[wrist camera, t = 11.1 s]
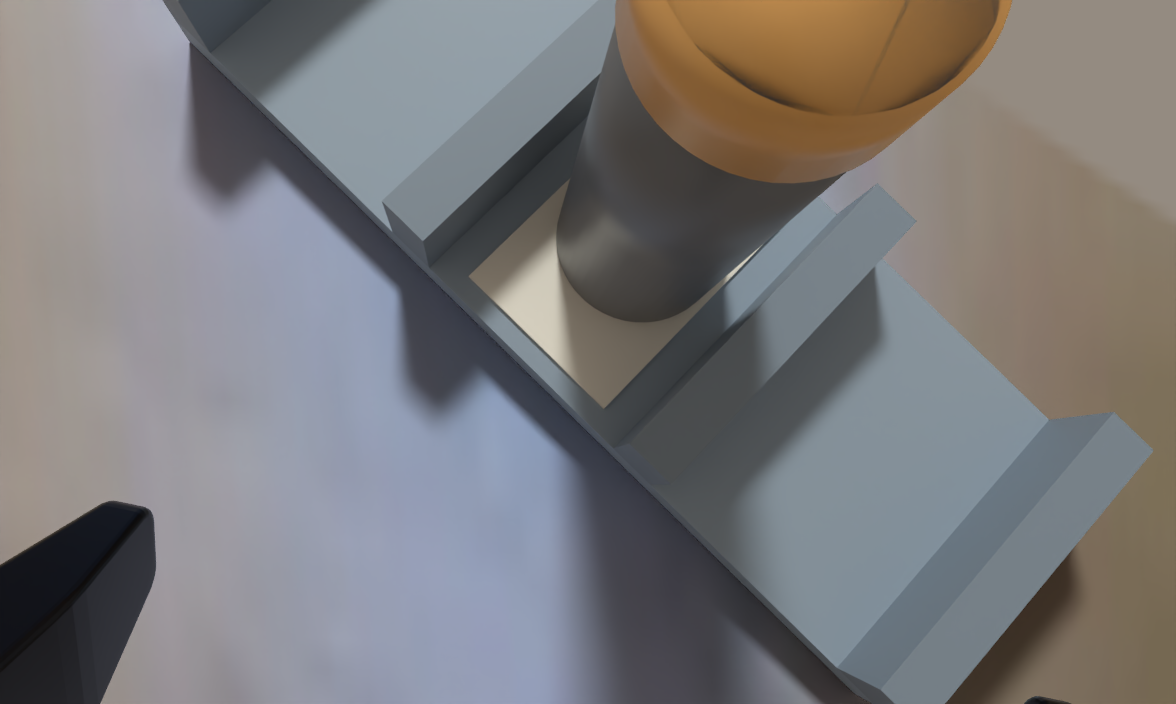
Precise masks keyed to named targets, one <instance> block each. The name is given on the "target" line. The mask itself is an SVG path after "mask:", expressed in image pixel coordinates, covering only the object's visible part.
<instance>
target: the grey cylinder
mask: <svg viewBox="0 0 1176 704" xmlns="http://www.w3.org/2000/svg"><path fill="white" fill-rule="evenodd" d="M1011 2H1012V0H616V4H615V26H614V29H613V33H612V36H611V39H610V43H609V46H608V50H607V53H606V57H605V60H604V64H603V67H602V70H601V74H600V77H599V81H598V84H597V88H596V91H595V95H594V98H593V102H592V105H591V108H590V112H589V115H588V119H587V122H586V126H585V129H584V133H583V136H582V139H581V143H580V146H579V150H578V153H577V157H576V160H575V164H574V167H573V170H572V174H571V177H570V181H569V184H568V188H567V191H566V195H565V198H564V201H563V205H562V208H561V212H560V215H559V219H558V224H557V231H556V245H557V252H558V257H559V260H560V264H561V267H562V269H563V271H564V274H565V276H566V277H567V279H568V281H569V283H570V284H571V286H572V287H573V288H574V290H575V291H576V292H577V293H578V294H579V295H580V296H581V297H582V298H583V299H584V300H585V301H586V302H587V303H588V304H590V305H591V306H592V307H594V308H595V309H597V310H599V311H600V312H602V313H604V314H606V315H609V316H611V317H613V318H617V319H620V320H624V321H630V322H654V321H660V320H664V319H668V318H670V317H673V316H675V315H678V314H679V313H681V312H683V311H685V310H686V309H688V308H689V307H691V306H692V305H693V304H694V303H696V302H697V301H698V300H699V299H700V298H702V297H703V296H704V295H705V294H706V293H707V292H708V291H710V290H711V289H712V288H713V287H714V286H715V285H716V284H718V283H719V282H720V281H721V280H722V279H723V278H725V277H726V276H727V275H728V274H729V273H730V272H731V271H733V270H734V269H735V268H736V267H737V266H738V265H740V264H741V263H742V262H743V261H744V260H745V259H746V258H748V257H749V256H750V255H751V254H752V253H753V252H755V251H756V250H757V249H758V248H759V247H760V246H761V245H763V244H764V243H765V242H766V241H767V240H768V239H770V238H771V237H772V236H773V235H774V234H775V233H776V232H778V231H779V230H780V229H781V228H782V227H783V226H785V225H786V224H787V223H788V222H789V221H790V220H791V219H793V218H794V217H795V216H796V215H797V214H798V213H800V212H801V211H802V210H803V209H804V208H805V207H806V206H808V205H809V204H810V203H811V202H812V201H813V200H814V199H816V198H817V197H818V196H819V195H820V194H821V193H823V192H824V191H825V190H826V189H827V188H828V187H829V186H831V185H832V184H833V183H834V182H835V181H836V180H838V179H839V178H840V177H841V176H842V175H843V174H844V173H846V172H847V171H850V170H852V169H854V168H856V167H858V166H860V165H861V164H863V163H865V162H867V161H869V160H870V159H872V158H873V157H875V156H876V155H877V154H878V153H880V152H881V151H882V150H884V149H885V148H886V147H888V146H889V145H890V144H891V143H892V142H894V141H895V140H896V139H897V138H898V137H899V136H901V135H902V134H903V133H904V132H905V131H907V130H908V129H909V128H910V127H911V126H913V125H914V124H915V123H916V122H917V121H919V120H920V119H921V118H922V117H923V116H924V115H926V114H927V113H928V112H929V111H930V110H932V109H933V108H934V107H935V106H936V105H938V104H939V103H940V102H941V101H942V100H943V99H945V98H946V97H947V96H948V95H949V94H951V93H952V92H953V91H954V90H955V89H957V88H958V87H959V86H960V85H961V84H962V83H963V82H964V81H965V80H966V79H967V78H968V77H969V76H970V75H971V74H972V73H973V72H974V71H975V70H976V69H977V68H978V67H979V66H980V65H981V63H982V62H983V60H984V59H985V58H986V56H987V55H988V53H989V52H990V51H991V50H992V48H993V46H994V44H995V42H996V40H997V39H998V37H999V35H1000V33H1001V31H1002V29H1003V27H1004V24H1005V21H1006V18H1007V16H1008V13H1009V10H1010V7H1011Z"/></svg>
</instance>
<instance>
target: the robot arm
mask: <svg viewBox="0 0 1176 704" xmlns="http://www.w3.org/2000/svg"><path fill="white" fill-rule="evenodd" d="M155 571H156V552H155V532H154V518H153V514H152V512H151V511H150V510H149V509H148V508H146V507H142V506H137V505H133V504H128V503H123V502H118V501H108V502H105V503H102V504H101V505H99V506H97V507H95V508H94V509H92V510H90V511H89V512H87V513H85V514H84V515H82V516H80V517H79V518H77V519H76V520H74V521H72V522H71V523H69V524H67V525H66V526H64V527H62V528H61V529H59V530H57V531H56V532H54V533H52V534H51V535H49V536H47V537H46V538H44V539H42V540H41V541H39V542H37V543H36V544H34V545H33V546H31V547H29V548H28V549H26V550H24V551H23V552H21V553H19V554H18V555H16V556H14V557H13V558H11V559H9V560H8V561H6V562H4V563H3V564H1V565H0V704H100V703H101V701H102V698H103V696H104V694H105V692H106V689H107V687H108V685H109V682H110V680H111V678H112V676H113V673H114V671H115V669H116V667H117V664H118V662H119V660H120V658H121V655H122V653H123V651H124V648H125V646H126V644H127V642H128V639H129V637H130V635H131V633H132V630H133V628H134V626H135V623H136V621H137V619H138V617H139V614H140V612H141V610H142V608H143V605H144V603H145V601H146V599H147V596H148V594H149V592H150V589H151V587H152V584H153V580H154V576H155ZM1024 704H1071V703H1068V702H1064V701H1060V700H1055V699H1050V698H1045V697H1041V696H1035V697H1032V698H1030V699H1028V700H1027V701H1026V702H1025V703H1024Z"/></svg>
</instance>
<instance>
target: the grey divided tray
mask: <svg viewBox="0 0 1176 704" xmlns="http://www.w3.org/2000/svg"><path fill="white" fill-rule="evenodd" d="M163 2H164V3H165V5H166V6H167V8H168V9H169V11H170V12H171V14H172V15H173V17H174V18H175V20H176V22H177V23H178V25H179V26H180V28H181V29H182V31H183V32H184V34H185V35H186V37H187V38H188V40H189V41H190V42H191V43H192V44H193V45H194V46H195V47H196V48H197V49H198V50H199V51H200V52H201V53H202V54H203V55H204V56H205V57H206V58H207V59H208V60H209V61H210V62H211V63H212V64H213V65H214V66H215V67H216V68H217V69H218V70H219V71H220V72H221V73H222V74H223V75H224V76H225V77H226V78H228V79H229V80H230V81H231V82H232V83H233V84H234V85H235V86H236V87H237V88H238V89H239V90H240V91H241V92H242V93H243V94H244V95H245V96H246V97H247V98H248V99H249V100H250V101H251V102H252V103H253V104H254V105H255V106H256V107H257V108H258V109H259V110H260V111H261V112H262V113H263V114H264V115H265V116H266V117H267V118H268V119H269V120H270V121H271V122H272V123H273V124H274V125H275V126H276V127H277V128H278V129H280V130H281V131H282V132H283V133H284V134H285V135H286V136H287V137H288V138H289V139H290V140H291V141H292V142H293V143H294V144H295V145H296V146H297V147H298V148H299V149H300V150H301V151H302V152H303V153H304V154H305V155H306V156H307V157H308V158H309V159H310V160H311V161H312V162H313V163H314V164H315V165H316V166H317V167H318V168H319V169H320V170H321V171H322V172H323V173H324V174H325V175H326V176H327V177H328V178H329V179H330V180H331V181H333V182H334V183H335V184H336V185H337V186H338V187H339V188H340V189H341V190H342V191H343V192H344V193H345V194H346V195H347V196H348V197H349V198H350V199H351V200H352V201H353V202H354V203H355V204H356V205H357V206H358V207H359V208H360V209H361V210H362V211H363V212H364V213H365V214H366V215H367V216H368V217H369V218H370V219H371V220H372V221H373V222H374V223H375V224H376V225H377V226H378V227H379V228H380V229H381V230H382V231H383V232H385V233H386V234H387V235H388V236H389V237H390V238H391V239H392V240H393V241H394V242H395V243H396V244H397V245H398V246H399V247H400V248H401V249H402V250H403V251H404V252H405V253H406V254H407V255H408V256H409V257H410V258H411V259H412V260H413V261H414V262H415V263H416V264H417V265H418V266H419V267H420V268H421V269H422V270H423V271H424V272H425V273H426V274H427V275H428V276H429V277H430V278H431V279H432V280H433V281H434V282H435V283H436V284H438V285H439V286H440V287H441V288H442V289H443V290H444V291H445V292H446V293H447V294H448V295H449V296H450V297H451V298H452V299H453V300H454V301H455V302H456V303H457V304H458V305H459V306H460V307H461V308H462V309H463V310H464V311H465V312H466V313H467V314H468V315H469V316H470V317H471V318H472V319H473V320H474V321H475V322H476V323H477V324H478V325H479V326H480V327H481V328H482V329H483V330H484V331H485V332H486V333H487V334H488V335H490V336H491V337H492V338H493V339H494V340H495V341H496V342H497V343H498V344H499V345H500V346H501V347H502V348H503V349H504V350H505V351H506V352H507V353H508V354H509V355H510V356H511V357H512V358H513V359H514V360H515V361H516V362H517V363H518V364H519V365H520V366H521V367H522V368H523V369H524V370H525V371H526V372H527V373H528V374H529V375H530V376H531V377H532V378H533V379H534V380H535V381H536V382H537V383H538V384H539V385H540V386H541V387H543V388H544V389H545V390H546V391H547V392H548V393H549V394H550V395H551V396H552V397H553V398H554V399H555V400H556V401H557V402H558V403H559V404H560V405H561V406H562V407H563V408H564V409H565V410H566V411H567V412H568V413H569V414H570V415H571V416H572V417H573V418H574V419H575V420H576V421H577V422H578V423H579V424H580V425H581V426H582V427H583V428H584V429H585V430H586V431H587V432H588V433H589V434H590V435H591V436H592V437H593V438H595V439H596V440H597V441H598V442H599V443H600V444H601V445H602V446H603V447H604V448H605V449H606V450H607V451H608V452H609V453H610V454H611V455H612V456H613V457H614V458H615V459H616V460H617V461H618V462H619V463H620V464H621V465H622V466H623V467H624V468H625V469H626V470H627V471H628V472H629V473H630V474H631V475H632V476H633V477H634V478H635V479H636V480H637V481H638V482H639V483H640V484H641V485H642V486H643V487H644V488H645V489H646V490H648V491H649V492H650V493H651V494H652V495H653V496H654V497H655V498H656V499H657V500H658V501H659V502H660V503H661V504H662V505H663V506H664V507H665V508H666V509H667V510H668V511H669V512H670V513H671V514H672V515H673V516H674V517H675V518H676V519H677V520H678V521H679V522H680V523H681V524H682V525H683V526H684V527H685V528H686V529H687V530H688V531H689V532H690V533H691V534H692V535H693V536H694V537H695V538H696V539H697V540H698V541H700V542H701V543H702V544H703V545H704V546H705V547H706V548H707V549H708V550H709V551H710V552H711V553H712V554H713V555H714V556H715V557H716V558H717V559H718V560H719V561H720V562H721V563H722V564H723V565H724V566H725V567H726V568H727V569H728V570H729V571H730V572H731V573H732V574H733V575H734V576H735V577H736V578H737V579H738V580H739V581H740V582H741V583H742V584H743V585H744V586H745V587H746V588H747V589H748V590H749V591H750V592H752V593H753V594H754V595H755V596H756V597H757V598H758V599H759V600H760V601H761V602H762V603H763V604H764V605H765V606H766V607H767V608H768V609H769V610H770V611H771V612H772V613H773V614H774V615H775V616H776V617H777V618H778V619H779V620H780V621H781V622H782V623H783V624H784V625H785V626H786V627H787V628H788V629H789V630H790V631H791V632H792V633H793V634H794V635H795V636H796V637H797V638H798V639H799V640H800V641H801V642H802V643H803V644H805V645H806V646H807V647H808V648H809V649H810V650H811V651H812V652H813V653H814V654H815V655H816V656H817V657H818V658H819V659H820V660H821V661H822V662H823V663H824V664H825V665H826V666H827V667H828V668H829V669H830V670H831V671H832V672H833V673H834V674H835V675H836V676H837V677H838V678H839V679H840V680H841V681H842V682H843V683H844V684H845V685H846V686H847V687H848V688H849V689H850V690H851V691H852V692H853V693H854V694H856V695H858V696H860V697H861V698H863V699H865V700H867V701H869V702H871V703H872V704H945V703H946V702H947V701H948V700H949V698H950V697H951V696H952V695H953V694H954V692H955V691H956V690H957V689H958V687H959V686H960V685H961V684H962V683H963V681H964V680H965V679H966V678H967V677H968V675H969V674H970V673H971V672H972V670H973V669H974V668H975V667H976V666H977V664H978V663H979V662H980V661H981V660H982V658H983V657H984V656H985V655H986V653H987V652H988V651H989V650H990V649H991V647H992V646H993V645H994V644H995V643H996V641H997V640H998V639H999V638H1000V636H1001V635H1002V634H1003V633H1004V632H1005V630H1006V629H1007V628H1008V627H1009V626H1010V624H1011V623H1012V622H1013V621H1014V619H1015V618H1016V617H1017V616H1018V615H1019V613H1020V612H1021V611H1022V610H1023V608H1024V607H1025V606H1026V605H1027V604H1028V602H1029V601H1030V600H1031V599H1032V598H1033V596H1034V595H1035V594H1036V593H1037V591H1038V590H1039V589H1040V588H1041V587H1042V585H1043V584H1044V583H1045V582H1046V581H1047V579H1048V578H1049V577H1050V576H1051V574H1052V573H1053V572H1054V571H1055V570H1056V568H1057V567H1058V566H1059V565H1060V564H1061V562H1062V561H1063V560H1064V559H1065V557H1066V556H1067V555H1068V554H1069V553H1070V551H1071V550H1072V549H1073V548H1074V547H1075V545H1076V544H1077V543H1078V542H1079V540H1080V539H1081V538H1082V537H1083V536H1084V534H1085V533H1086V532H1087V531H1088V530H1089V528H1090V527H1091V526H1092V525H1093V523H1094V522H1095V521H1096V520H1097V519H1098V517H1099V516H1100V515H1101V514H1102V513H1103V511H1104V510H1105V509H1106V508H1107V506H1108V505H1109V504H1110V503H1111V502H1112V500H1113V499H1114V498H1115V497H1116V496H1117V494H1118V493H1119V492H1120V491H1121V489H1122V488H1123V487H1124V486H1125V485H1126V483H1127V482H1128V481H1129V480H1130V479H1131V477H1132V476H1133V475H1134V474H1135V472H1136V471H1137V470H1138V469H1139V468H1140V466H1141V465H1142V464H1143V463H1144V461H1145V460H1146V459H1147V458H1148V457H1149V455H1150V454H1151V453H1152V452H1153V451H1154V450H1153V449H1152V448H1151V447H1150V446H1149V445H1148V444H1146V443H1145V442H1144V441H1143V440H1142V439H1141V438H1140V437H1139V436H1138V435H1137V434H1136V433H1135V432H1134V431H1133V430H1132V429H1131V428H1130V427H1129V426H1128V425H1127V424H1126V423H1125V422H1124V421H1123V420H1122V419H1121V418H1120V417H1119V416H1118V415H1116V414H1115V413H1114V412H1110V413H1102V414H1094V415H1085V416H1077V417H1069V418H1060V419H1052V420H1049V419H1048V418H1047V417H1046V416H1044V415H1043V414H1042V413H1041V412H1040V411H1039V410H1038V409H1037V408H1036V407H1035V406H1034V405H1033V404H1032V403H1031V402H1030V401H1029V400H1028V399H1027V398H1026V397H1025V396H1024V395H1023V394H1022V393H1021V392H1020V391H1019V390H1018V389H1017V388H1016V387H1015V386H1014V385H1012V384H1011V383H1010V382H1009V381H1008V380H1007V379H1006V378H1005V377H1004V376H1003V375H1002V374H1001V373H1000V372H999V371H998V370H997V369H996V368H995V367H994V366H993V365H992V364H991V363H990V362H989V361H988V360H987V359H986V358H985V357H984V356H983V355H982V354H980V353H979V352H978V351H977V350H976V349H975V348H974V347H973V346H972V345H971V344H970V343H969V342H968V341H967V340H966V339H965V338H964V337H963V336H962V335H961V334H960V333H959V332H958V331H957V330H956V329H955V328H954V327H953V326H952V325H951V324H950V323H948V322H947V321H946V320H945V319H944V318H943V317H942V316H941V315H940V314H939V313H938V312H937V311H936V310H935V309H934V308H933V307H932V306H931V305H930V304H929V303H928V302H927V301H926V300H925V299H924V298H923V297H922V296H921V295H920V294H919V293H917V292H916V291H915V290H914V289H913V288H912V287H911V286H910V285H909V284H908V283H907V282H906V281H905V280H904V279H903V278H902V277H901V276H900V275H899V274H898V273H897V272H896V271H895V270H894V269H893V268H892V267H891V266H890V265H889V264H888V263H887V262H885V261H884V260H883V259H882V258H883V257H884V256H885V255H886V254H887V253H888V251H889V250H890V249H891V248H892V247H893V246H894V245H895V244H896V243H897V242H898V241H899V240H900V239H901V238H902V236H903V235H904V234H905V233H906V232H907V231H908V230H909V229H910V228H911V227H912V226H913V225H914V224H915V223H916V220H915V219H914V218H913V217H912V216H911V215H910V214H909V213H908V212H906V211H905V210H904V209H903V208H902V207H901V206H900V205H899V204H898V203H897V202H896V201H895V200H894V199H893V198H892V197H891V196H890V195H889V194H888V193H887V192H886V191H885V190H884V189H883V188H882V187H881V186H880V185H879V184H878V183H877V184H876V185H875V186H873V187H872V188H871V189H870V190H868V191H867V192H866V193H864V194H863V195H862V196H860V197H859V198H858V199H857V200H855V201H854V202H853V203H851V204H850V205H849V206H847V207H846V208H845V209H844V210H842V211H841V212H840V213H838V214H836V213H835V212H834V211H833V210H832V209H831V208H830V207H829V206H828V205H827V204H826V203H825V202H824V201H823V200H821V199H820V198H819V197H817V198H816V199H814V200H813V201H812V202H811V203H810V204H809V205H808V206H806V207H805V208H804V209H803V210H802V211H801V212H800V213H798V214H797V215H796V216H795V217H794V218H793V219H791V220H790V221H789V222H788V223H787V224H786V225H785V226H783V227H782V228H781V229H780V230H779V231H778V232H776V233H775V234H774V235H773V236H772V237H771V238H770V239H768V240H767V241H766V242H765V243H764V244H763V245H761V246H760V247H759V248H758V249H757V250H756V251H755V252H753V253H752V254H751V255H750V256H749V257H748V258H746V259H745V260H744V261H743V262H742V263H741V264H740V265H738V266H737V267H736V268H735V269H734V270H733V271H731V272H730V273H729V274H728V275H727V276H726V277H725V278H723V279H722V280H721V281H720V282H719V283H718V284H716V285H715V286H714V287H713V288H712V289H711V290H710V291H708V292H707V293H706V294H705V295H704V296H703V297H702V298H700V299H699V300H698V301H697V302H696V303H694V304H693V305H692V306H691V307H689V308H688V309H686V310H685V311H683V312H681V313H679V314H678V315H675V316H673V317H670V318H668V319H664V320H660V321H654V322H630V321H624V320H620V319H617V318H613V317H611V316H609V315H606V314H604V313H602V312H600V311H599V310H597V309H595V308H594V307H592V306H591V305H590V304H588V303H587V302H586V301H585V300H584V299H583V298H582V297H581V296H580V295H579V294H578V293H577V292H576V291H575V290H574V288H573V287H572V286H571V284H570V283H569V281H568V279H567V277H566V276H565V274H564V271H563V269H562V267H561V264H560V260H559V257H558V252H557V245H556V231H557V224H558V219H559V215H560V212H561V208H562V205H563V201H564V198H565V195H566V191H567V188H568V184H569V181H570V177H571V174H572V170H573V167H574V164H575V160H576V157H577V153H578V150H579V146H580V143H581V139H582V136H583V133H584V129H585V126H586V122H587V119H588V115H589V112H590V108H591V105H592V102H593V98H594V95H595V91H596V88H597V84H598V81H599V77H600V74H601V70H602V67H603V64H604V60H605V57H606V53H607V50H608V46H609V43H610V39H611V36H612V33H613V29H614V26H615V4H616V0H163Z"/></svg>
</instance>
